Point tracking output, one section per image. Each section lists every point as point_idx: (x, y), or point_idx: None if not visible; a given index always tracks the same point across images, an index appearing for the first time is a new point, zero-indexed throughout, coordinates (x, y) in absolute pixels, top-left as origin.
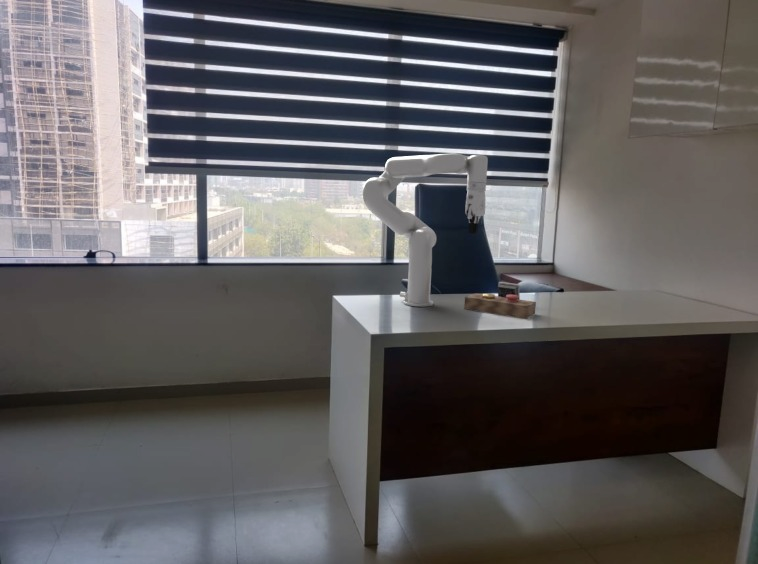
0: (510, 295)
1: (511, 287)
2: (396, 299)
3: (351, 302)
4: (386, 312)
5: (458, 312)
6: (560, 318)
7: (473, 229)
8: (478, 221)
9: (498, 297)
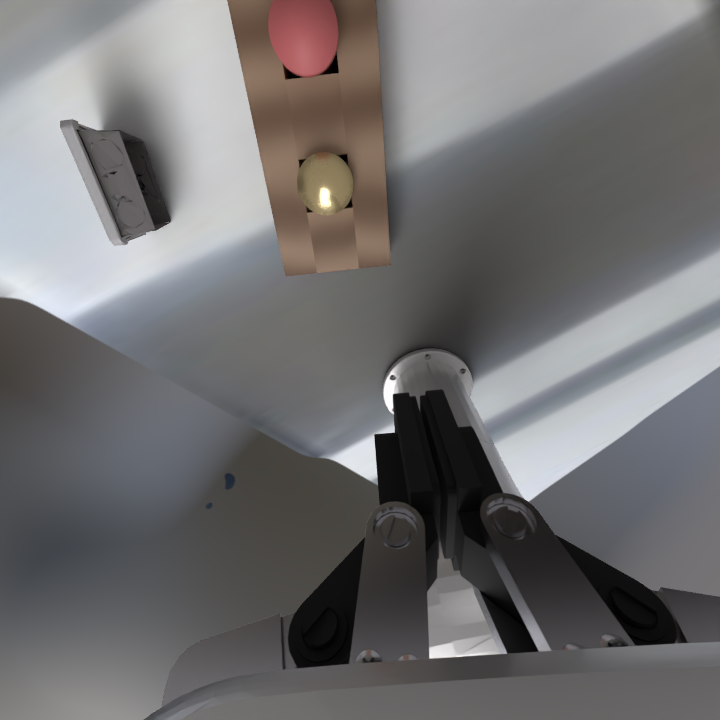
0: (306, 44)
1: (114, 157)
2: None
3: (522, 484)
4: (585, 380)
5: (453, 239)
6: None
7: (478, 439)
8: (373, 537)
9: (281, 150)
